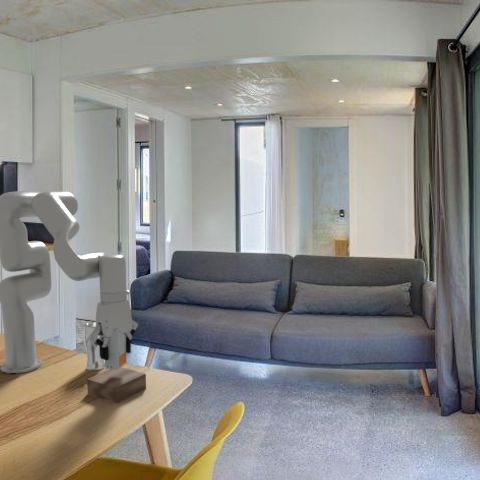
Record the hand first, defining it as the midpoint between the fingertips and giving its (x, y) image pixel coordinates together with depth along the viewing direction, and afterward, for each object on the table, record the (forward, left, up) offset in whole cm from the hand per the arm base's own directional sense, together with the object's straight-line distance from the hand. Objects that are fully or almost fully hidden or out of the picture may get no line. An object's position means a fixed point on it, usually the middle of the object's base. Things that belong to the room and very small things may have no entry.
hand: (115, 355), depth 143 cm
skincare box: (0, 0, -4) cm, 4 cm away
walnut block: (0, 0, -11) cm, 11 cm away
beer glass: (-22, +7, -11) cm, 26 cm away
